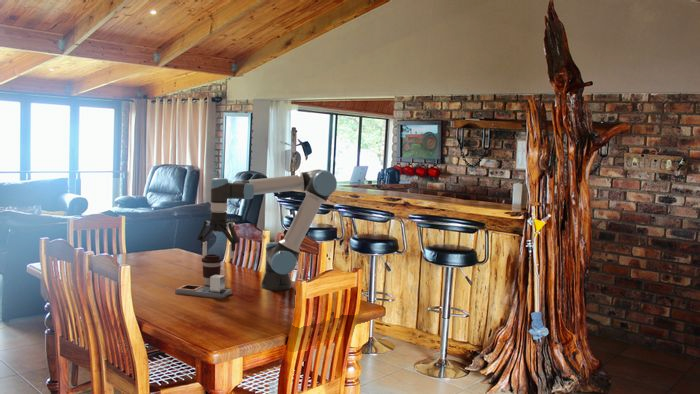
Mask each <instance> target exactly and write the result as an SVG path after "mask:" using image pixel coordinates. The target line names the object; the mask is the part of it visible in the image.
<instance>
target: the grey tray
mask: <svg viewBox="0 0 700 394" xmlns="http://www.w3.org/2000/svg"><path fill="white" fill-rule="evenodd" d="M174 291H175V295H176V294H177V295H186V296H193V297H194V296H195V297H200V298H201V297H203V298H210V299H219V300H222V299H224V298H227V297H229V296H230V295H232V294H233V289H230V288H225V292H223V293H213V292H210V286H203V285H195V284H184V285H182V286H180V287H177V288H175V290H174Z"/></svg>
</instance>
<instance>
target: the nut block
mask: <svg viewBox="0 0 700 394" xmlns="http://www.w3.org/2000/svg"><path fill="white" fill-rule="evenodd" d="M209 287H210V292H213V293H223V292H225V289H226V275H224V274H220V275H213V276H211V277H210V285H209Z"/></svg>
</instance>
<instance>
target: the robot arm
mask: <svg viewBox="0 0 700 394" xmlns="http://www.w3.org/2000/svg"><path fill="white" fill-rule="evenodd" d="M337 186H338V183H337V178H336V176H335V175H334V174H333V173H332V172H331V171H330V170H329V171H328V170H325V169H324V170H323V169H313V170H309V171H305V172H299V173H298V174H294V175H284V176H276V177H275V176H274V177H273V176H272V177H267V178H266V177H265V178H256V179H248V180H235V181H233V182H229V179H228V178H223V177H221V178H220V177H214V178H212V179H211V185H210V211H211V212H210V220H205V221H203V226H202V228H201V230H200V232H199V234H198V236H197V238H196V239H197V241H200V249H202V257H205V255H208V241H207V239H208V238H209V237H210V236H211V235H212V234H213V232H219V233H222V234H224V236H225V237H226V239H227V241H228V242H229V243H230V244H229V249H228V259H233V258H234V252H235V251H236V244H239V243H240V240H239V237H238V234H237V233H236V230H235V227H234V223H233V222H228V212H227V211H228V199H229V200H252V199H254V196H255V195H256V196H257V195H265V194H274V193H282V192H292V191H293V192H294V191H301V192H302V193H303V192H304V193H305V197H304V198H303V201H302V202H301V203H300V206H299V208H298V209H297V211H296V215H295V216H294V218H293V220H292V222H291V223H290V226H289V228H288V230H287V231H286V233H285V236H283V239H281V240H279V241H278V242H274V241H273V242H271V241H270V242H267V243H266V245H265V246H266V247H265V273H264V275H263V278H262V280H261V284H260V285H261V287H260V288H261V289H263V290H269V291H274V292H276V291H277V292H278V291H280V292H281V291H289V290H291V289H292V285H293V284H292V280H291V276H290V273H292V272H293V271H294V270H295V268H296V266H297V260H298V257H299V255H300V253H301V251H300V247H301V244H302V242H303V241H304V239H305V238H306V234H307V233H308V231H309V229H310V228H311V225H312V223H313V222H314V220H315V218H316V216H317V214H318V213H319V210H320V208H321V206H322V204H325V203H326V202H327V201H328V199H329V198H330V196H331V195H332V194H334V192H335V191H336V189H337ZM209 226H210V228H209ZM227 228H228V229H229V230H228V229H227ZM206 231H207V232H206Z"/></svg>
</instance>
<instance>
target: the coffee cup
mask: <svg viewBox="0 0 700 394" xmlns="http://www.w3.org/2000/svg"><path fill="white" fill-rule="evenodd" d="M201 262H202V277H203V284H204V285H205V286H210V277H211V276H213V275H221V266H222V262H223V258H222V257H220V255H219V254H212V253H211V254H210V253H207V255H205V256H203V257H202V258H201Z"/></svg>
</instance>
